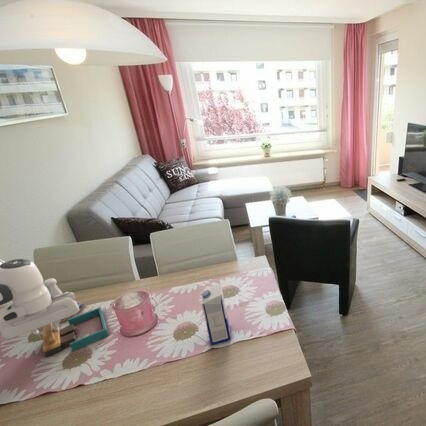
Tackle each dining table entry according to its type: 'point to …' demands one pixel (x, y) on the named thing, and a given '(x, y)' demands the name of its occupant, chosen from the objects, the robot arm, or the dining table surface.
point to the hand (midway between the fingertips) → (49, 334)
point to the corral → (93, 336)
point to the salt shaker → (52, 287)
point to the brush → (51, 340)
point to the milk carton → (215, 315)
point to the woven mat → (79, 310)
